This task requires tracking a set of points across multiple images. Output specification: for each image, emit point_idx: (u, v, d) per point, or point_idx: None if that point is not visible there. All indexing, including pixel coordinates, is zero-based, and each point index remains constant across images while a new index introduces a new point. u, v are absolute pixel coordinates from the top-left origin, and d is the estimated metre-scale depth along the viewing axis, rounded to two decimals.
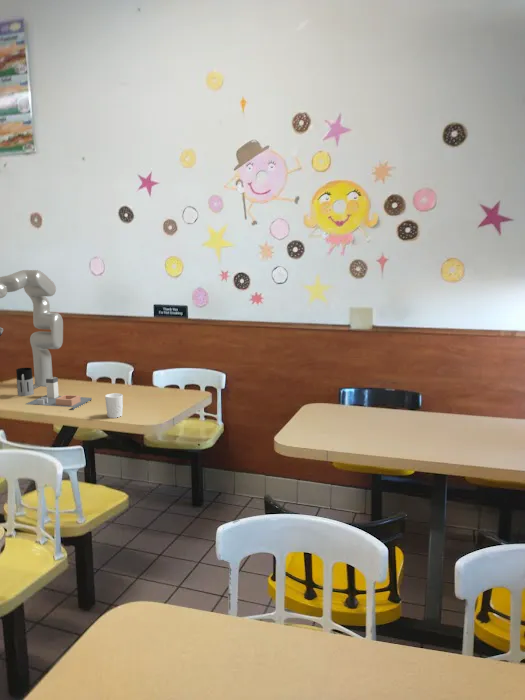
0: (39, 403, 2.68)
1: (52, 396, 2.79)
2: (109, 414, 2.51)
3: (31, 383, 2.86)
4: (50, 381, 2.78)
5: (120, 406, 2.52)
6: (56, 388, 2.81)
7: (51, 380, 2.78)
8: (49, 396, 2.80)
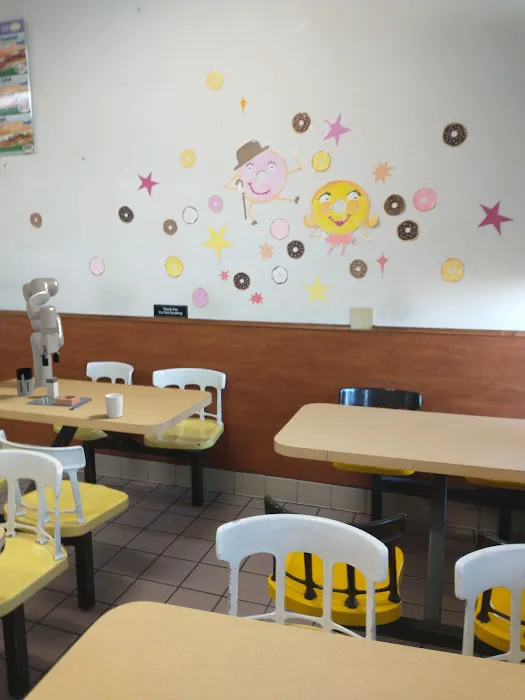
0: (39, 403, 2.68)
1: (52, 396, 2.79)
2: (109, 414, 2.51)
3: (31, 383, 2.86)
4: (50, 381, 2.78)
5: (120, 406, 2.52)
6: (56, 388, 2.81)
7: (51, 380, 2.78)
8: (49, 396, 2.80)
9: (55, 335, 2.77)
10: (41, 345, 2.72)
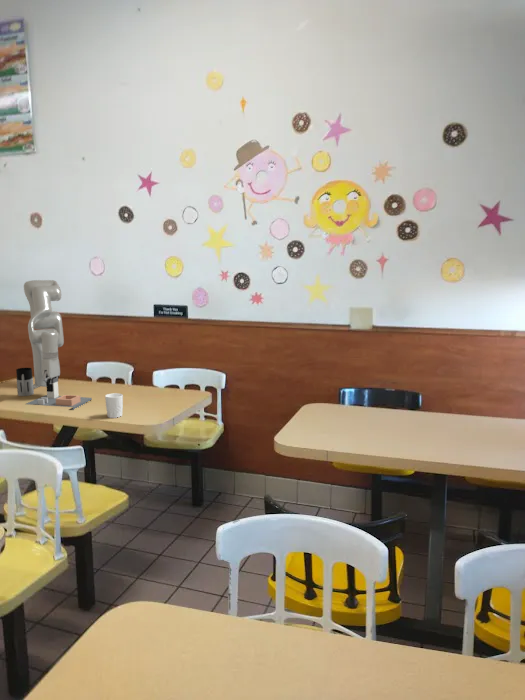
0: (39, 403, 2.68)
1: (52, 396, 2.79)
2: (109, 414, 2.51)
3: (31, 383, 2.86)
4: None
5: (120, 406, 2.52)
6: (56, 388, 2.81)
7: None
8: (49, 396, 2.80)
9: (56, 359, 2.80)
10: (43, 370, 2.75)
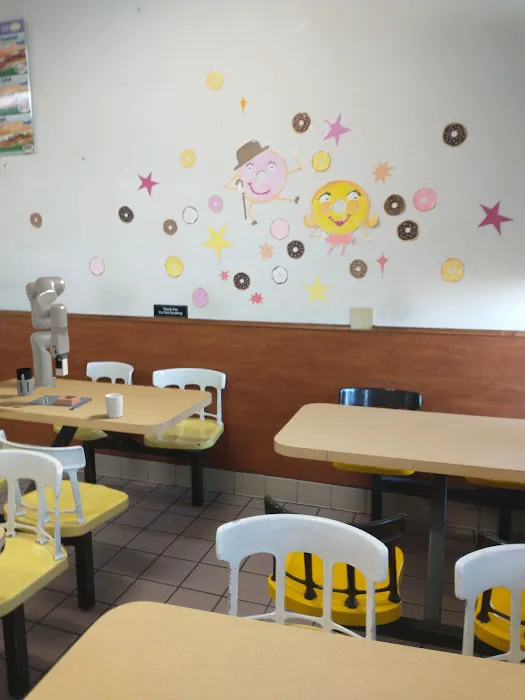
0: (39, 403, 2.68)
1: (61, 373, 2.66)
2: (109, 414, 2.51)
3: (31, 383, 2.86)
4: None
5: (120, 406, 2.52)
6: (65, 365, 2.67)
7: None
8: (58, 373, 2.66)
9: (66, 335, 2.66)
10: (51, 345, 2.61)
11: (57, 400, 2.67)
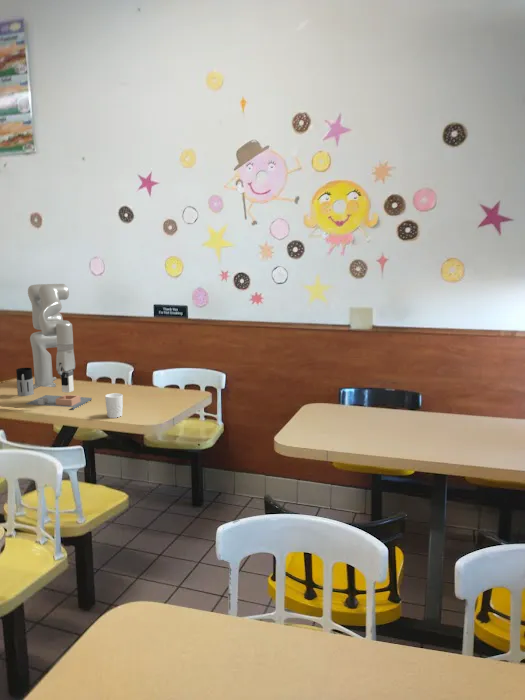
0: (39, 403, 2.68)
1: (67, 390, 2.67)
2: (109, 414, 2.51)
3: (31, 383, 2.86)
4: None
5: (120, 406, 2.52)
6: (71, 382, 2.68)
7: None
8: (64, 390, 2.67)
9: (72, 352, 2.67)
10: (57, 362, 2.62)
11: (57, 400, 2.67)
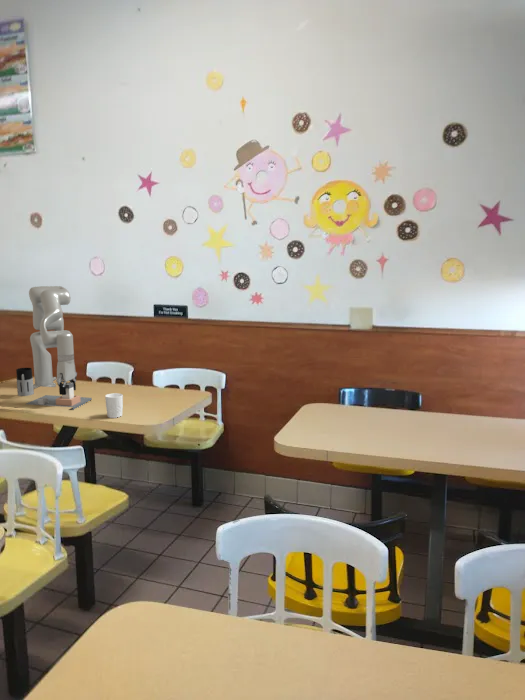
0: (39, 403, 2.68)
1: None
2: (109, 414, 2.51)
3: (31, 383, 2.86)
4: (66, 387, 2.67)
5: (120, 406, 2.52)
6: (72, 394, 2.70)
7: (67, 385, 2.67)
8: None
9: (72, 362, 2.68)
10: (58, 373, 2.63)
11: (57, 400, 2.67)
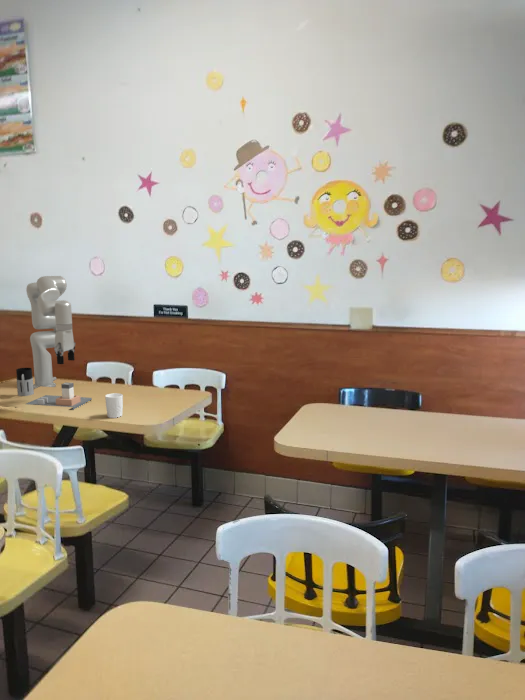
0: (39, 403, 2.68)
1: None
2: (109, 414, 2.51)
3: (31, 383, 2.86)
4: (66, 387, 2.67)
5: (120, 406, 2.52)
6: (72, 394, 2.70)
7: (67, 385, 2.67)
8: None
9: (70, 332, 2.66)
10: (56, 342, 2.61)
11: (57, 400, 2.67)
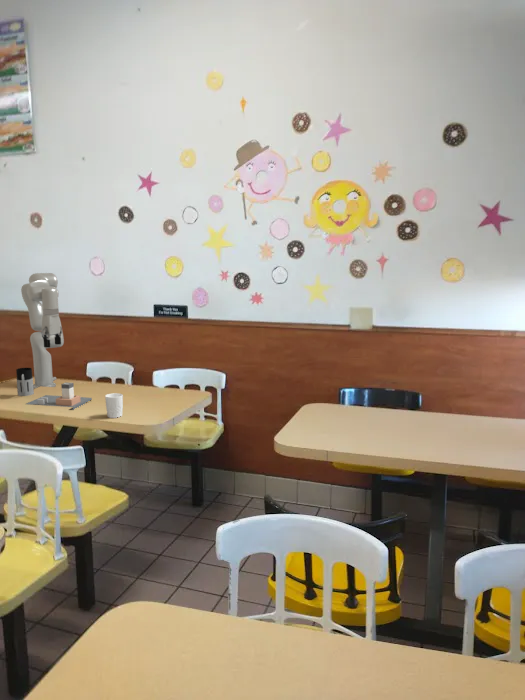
0: (39, 403, 2.68)
1: None
2: (109, 414, 2.51)
3: (31, 383, 2.86)
4: (66, 387, 2.67)
5: (120, 406, 2.52)
6: (72, 394, 2.70)
7: (67, 385, 2.67)
8: None
9: (57, 316, 2.77)
10: (43, 326, 2.72)
11: (57, 400, 2.67)
